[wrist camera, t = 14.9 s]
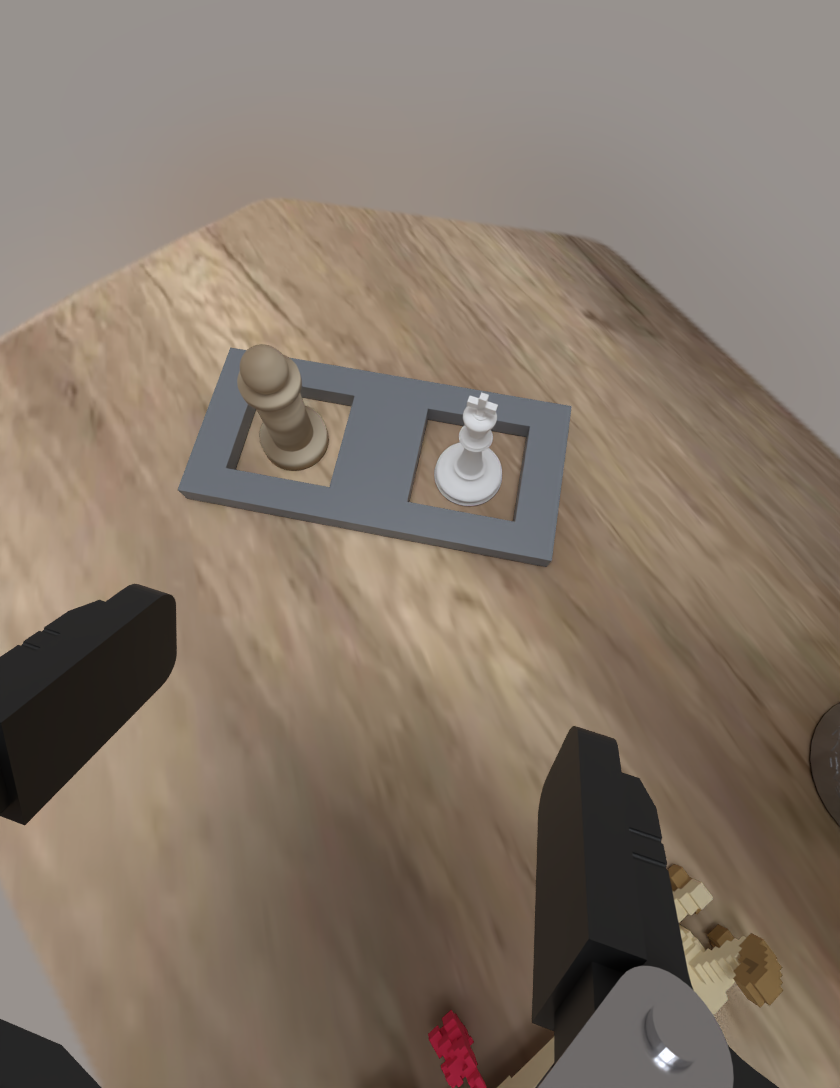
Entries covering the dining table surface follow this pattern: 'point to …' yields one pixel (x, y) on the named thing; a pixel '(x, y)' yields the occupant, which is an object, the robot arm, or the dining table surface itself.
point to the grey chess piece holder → (386, 462)
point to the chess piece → (471, 458)
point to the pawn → (281, 409)
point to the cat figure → (707, 973)
